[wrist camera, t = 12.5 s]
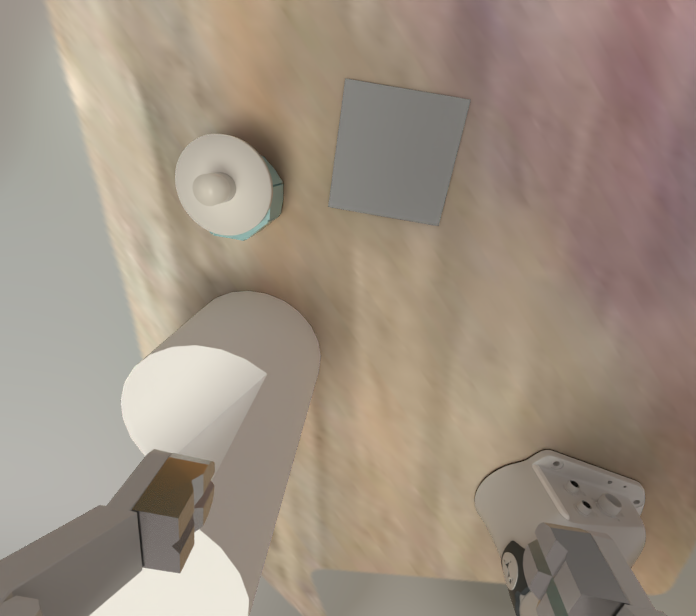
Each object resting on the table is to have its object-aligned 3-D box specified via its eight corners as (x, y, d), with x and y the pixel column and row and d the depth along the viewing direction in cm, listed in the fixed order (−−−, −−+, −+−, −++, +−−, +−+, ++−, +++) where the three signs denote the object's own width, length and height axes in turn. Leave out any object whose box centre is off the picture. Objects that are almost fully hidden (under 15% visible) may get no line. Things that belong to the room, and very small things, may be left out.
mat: (469, 100, 35) (470, 99, 35) (438, 225, 40) (438, 226, 39) (345, 79, 35) (345, 78, 35) (328, 206, 40) (328, 206, 40)
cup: (286, 159, 38) (273, 159, 34) (280, 234, 42) (267, 244, 37) (211, 146, 38) (188, 145, 34) (210, 222, 42) (189, 231, 37)
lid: (277, 144, 33) (263, 143, 29) (268, 241, 37) (255, 251, 33) (180, 125, 33) (153, 121, 29) (180, 224, 37) (157, 232, 33)
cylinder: (348, 357, 47) (309, 604, 21) (262, 428, 53) (148, 691, 27) (245, 262, 43) (45, 420, 17) (164, 348, 49) (-78, 566, 23)
